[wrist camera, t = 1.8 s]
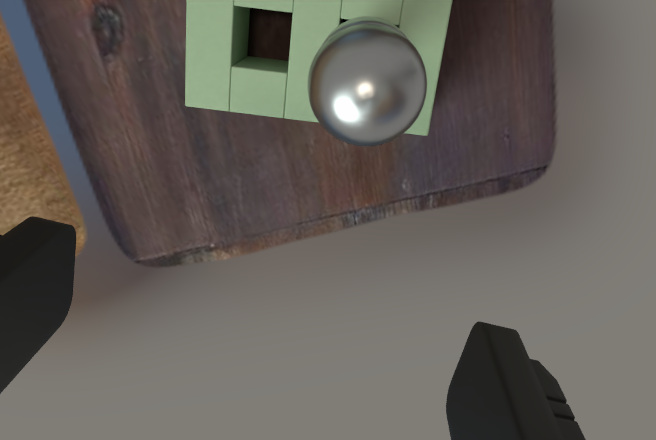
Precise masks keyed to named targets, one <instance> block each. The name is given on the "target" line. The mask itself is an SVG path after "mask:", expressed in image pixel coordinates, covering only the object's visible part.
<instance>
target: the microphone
mask: <svg viewBox="0 0 656 440" xmlns="http://www.w3.org/2000/svg"><path fill="white" fill-rule="evenodd" d="M307 88H308V97H309V102H310V106H311V108H312V110H313V113H314V115H315V117H316V118H317V120H318V121H319V123H320V124H321V126H322V127H323V128H324V129H325V130H326V131H327V132H328V133H330V134H331V135H333V136H334V137H335V138H337V139H339V140H341V141H343V142H345V143H348V144H352V145H356V146H376V145H382V144H384V143H387V142H390V141H392V140H394V139H396V138H397V137H399V136H401V135H402V134H403V133H404V132H406V131H407V130H408V129H409V128H410V127H411V126H412V125H413V123H414V122H415V121H416V119H417V118H418V116H419V114H420V112H421V110H422V108H423V105H424V102H425V98H426V91H427V76H426V70H425V66H424V63H423V60H422V58H421V56H420V54H419V52H418V51H417V49H416V48H415V46H414V45H413V44H412V43H411V42H410V40H409V39H408V38H407V37H406V35H405V34H404V33H403V32H402V31H401V30H400V29H399V28H398V27H397V26H395V25H394V24H393V23H391V22H389V21H387V20H385V19H382V18H378V17H372V16H363V17H357V18H353V19H350V20H348V21H346V22H344V23H342V24H340V25H339V26H338V27H336V28H335V29H334V30H333V31H332V32H331V33H330V34H329V35H328V37H327V38H326V40H325V41H324V43H323V44H322V45H321V47H320V48H319V50H318V52H317V53H316V55H315V57H314V59H313V61H312V63H311V66H310V70H309V74H308V86H307Z"/></svg>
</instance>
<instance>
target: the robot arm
mask: <svg viewBox="0 0 656 440" xmlns="http://www.w3.org/2000/svg"><path fill="white" fill-rule="evenodd" d="M75 249H76V232H75V229H74V227H73V226H72V225H68V224H64V223H60V222H56V221H51V220H47V219H43V218H38V217H33V216H32V217H29V218H27V219H26V220H25V221H23V222H22V223H20V224H19V225H17V226H16V227H14V228H13V229H12V230H10V231H9V232H7V233H6V234H4V235H0V393H1V392H2V391H3V390H4V389H5V388H6V387H7V385H8V384H9V383H10V382H11V381H12V380H13V379H14V378H15V376H16V375H17V374H18V373H19V372H20V371H21V370H22V369H23V367H24V366H25V365H26V364H27V363H28V362H29V361H30V360H31V358H32V357H33V356H34V355H35V354H36V353H37V352H38V350H40V348H41V347H42V346H43V345H44V344H45V343H46V342H47V341H48V339H49V338H50V337H51V336H52V335H53V334H54V333H55V331H56V330H57V329H58V328H59V327H60V326H61V324H62V323H63V321H64V320H65V318H66V316H67V314H68V311H69V308H70V305H71V301H72V295H73V279H74V265H75V264H74V263H75ZM446 413H447V420H448V425H449V430H450V436H451V440H585V438H584V436H583V434H582V432H581V429H580V428H579V425H578V423H577V422H576V421H574V418H575V417H574V415H573V413H572V411H571V409H570V407H569V405H568V404H566V398H565V396H564V394H563V392H562V390H561V388H560V386H559V384H558V382H557V380H556V379H555V378H554V377H553V376H552V375H551V374H550V373H549V372H548V371H547V370H546V369H545V367H544V366H543V365H542V364H541V363H540V362H539V361H537V360H532V359H529V357H528V354H527V352H526V350H525V347H524V345H523V343H522V340H521V338H520V336H519V334H518V332H517V331H516V330H513V329H509V328H505V327H500V326H496V325H491V324H488V323H483V322H477V323H476V324H475V325H474V326H473V328H472V330H471V332H470V335H469V337H468V339H467V342H466V345H465V347H464V350H463V352H462V355H461V357H460V360H459V362H458V365H457V368H456V370H455V373H454V375H453V378H452V380H451V383H450V386H449V390H448V395H447V403H446Z"/></svg>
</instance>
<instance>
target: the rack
mask: <svg viewBox="0 0 656 440" xmlns="http://www.w3.org/2000/svg"><path fill="white" fill-rule="evenodd" d="M452 1H453V0H187V12H186V83H185V105H186V106H189V107H197V108H206V109H214V110H222V111H229V110H230V111H231V112H238V113H246V114H254V115H262V116H270V117H278V118H287V119H295V120H303V121H311V122H319V121H318V120H317V118H316V117H315V115H314V113H313V110H312V108H311V106H310V102H309V97H308V88H307V86H308V74H309V70H310V66H311V63H312V61H313V59H314V57H315V55H316V53H317V52H318V50H319V48H320V47H321V45H322V44H323V43H324V41H325V40H326V38H327V37H328V35H329V34H330V33H331V32H332V31H333V30H334V29H335V28H336V27H338V26H339V25H340V24H342V20H343V19H348V20H350V19H353V18H357V17H363V16H372V17H378V18H382V19H385V20H387V21H389V22H391V23H393V24H394V25H395V26H397V27H398V28H399V29H400V30H401V31H402V32H403V33H404V34H405V35H406V37H407V38H408V39H409V40H410V42H411V43H412V44H413V45H414V46H415V48H416V49H417V51H418V52H419V54H420V56H421V58H422V60H423V63H424V66H425V70H426V76H427V91H426V98H425V102H424V105H423V108H422V110H421V112H420V114H419V116H418V118H417V119H416V121H415V122H414V123H413V125H412V126H411V127H410V128H409V129H408V130H407V131H406V132H404V133H408V134H416V135H424V136H427V135H428V132H429V126H430V121H431V115H432V110H433V105H434V99H435V94H436V88H437V83H438V77H439V72H440V66H441V61H442V55H443V50H444V45H445V39H446V34H447V28H448V23H449V17H450V12H451V6H452ZM250 8H258V9H266V10H274V11H282V12H290V13H292V12H293V15H292V27H291V39H290V51H289V61H285V60H277V59H269V58H261V57H253V56H248V57H247V55H248V37H249V19H250Z"/></svg>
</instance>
